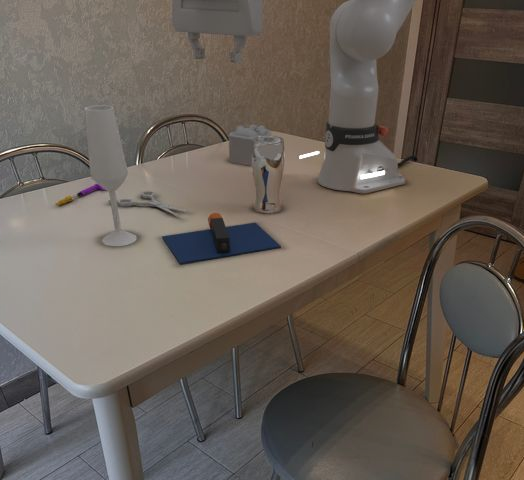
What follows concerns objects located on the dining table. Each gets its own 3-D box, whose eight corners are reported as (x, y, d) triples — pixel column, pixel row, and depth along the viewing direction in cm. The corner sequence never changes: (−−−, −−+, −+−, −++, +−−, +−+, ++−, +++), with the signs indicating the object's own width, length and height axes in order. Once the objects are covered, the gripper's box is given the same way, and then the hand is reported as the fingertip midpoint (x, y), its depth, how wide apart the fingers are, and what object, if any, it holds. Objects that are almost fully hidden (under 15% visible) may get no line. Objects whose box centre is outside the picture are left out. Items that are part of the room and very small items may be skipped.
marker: (208, 227, 110) (207, 213, 108) (222, 226, 110) (222, 212, 108) (216, 255, 98) (215, 240, 97) (232, 254, 99) (231, 239, 97)
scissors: (143, 188, 128) (204, 206, 118) (143, 191, 128) (205, 209, 118) (108, 200, 121) (170, 220, 111) (108, 203, 121) (170, 223, 111)
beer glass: (245, 207, 120) (245, 138, 112) (269, 201, 124) (270, 133, 115) (265, 216, 116) (266, 144, 107) (289, 209, 119) (291, 139, 111)
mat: (255, 224, 112) (255, 222, 112) (280, 247, 102) (281, 245, 102) (162, 238, 106) (162, 236, 106) (180, 264, 96) (179, 262, 96)
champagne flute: (137, 244, 103) (118, 111, 89) (101, 247, 102) (77, 112, 88) (136, 231, 108) (119, 103, 95) (102, 233, 107) (80, 104, 93)
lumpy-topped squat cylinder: (224, 161, 150) (223, 129, 146) (247, 151, 160) (247, 120, 155) (256, 167, 146) (256, 133, 141) (278, 156, 156) (279, 124, 151)
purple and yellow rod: (101, 185, 131) (54, 205, 120) (101, 180, 131) (54, 201, 119) (110, 189, 131) (64, 210, 119) (110, 184, 130) (64, 205, 118)
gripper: (161, -25, 102) (168, 58, 109) (247, -24, 92) (247, 66, 100) (183, -24, 106) (188, 55, 114) (268, -24, 96) (267, 62, 104)
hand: (217, 60), depth 107 cm, fingers open, 8 cm apart
